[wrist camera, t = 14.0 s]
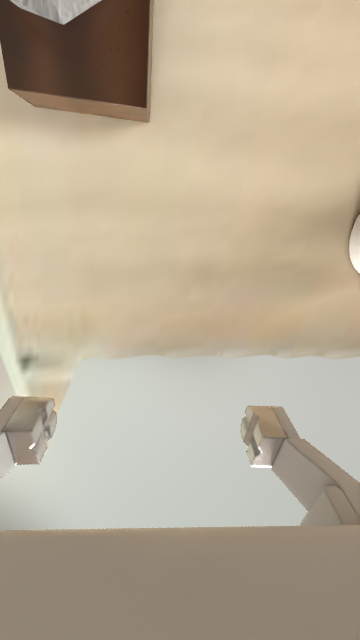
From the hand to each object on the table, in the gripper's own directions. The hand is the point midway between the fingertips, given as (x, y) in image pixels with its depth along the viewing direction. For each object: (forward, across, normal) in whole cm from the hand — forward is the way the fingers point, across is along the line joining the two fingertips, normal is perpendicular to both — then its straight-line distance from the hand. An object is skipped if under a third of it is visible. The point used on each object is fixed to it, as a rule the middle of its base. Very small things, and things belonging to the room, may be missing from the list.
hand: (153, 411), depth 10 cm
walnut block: (+26, +8, -21) cm, 35 cm away
